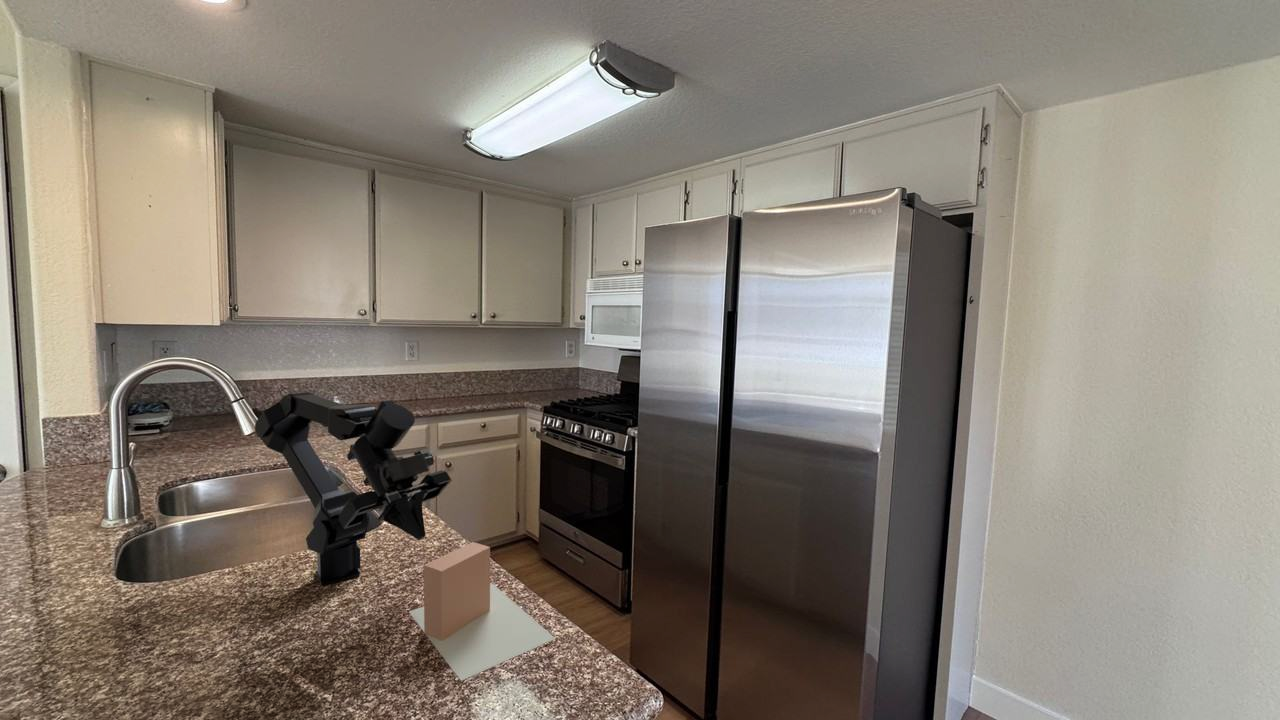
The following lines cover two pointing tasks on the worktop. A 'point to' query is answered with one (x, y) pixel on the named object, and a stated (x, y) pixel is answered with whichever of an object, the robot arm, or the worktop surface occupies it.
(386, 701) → the worktop surface
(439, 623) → the terracotta slab
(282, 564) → the worktop surface
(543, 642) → the rubber mat
